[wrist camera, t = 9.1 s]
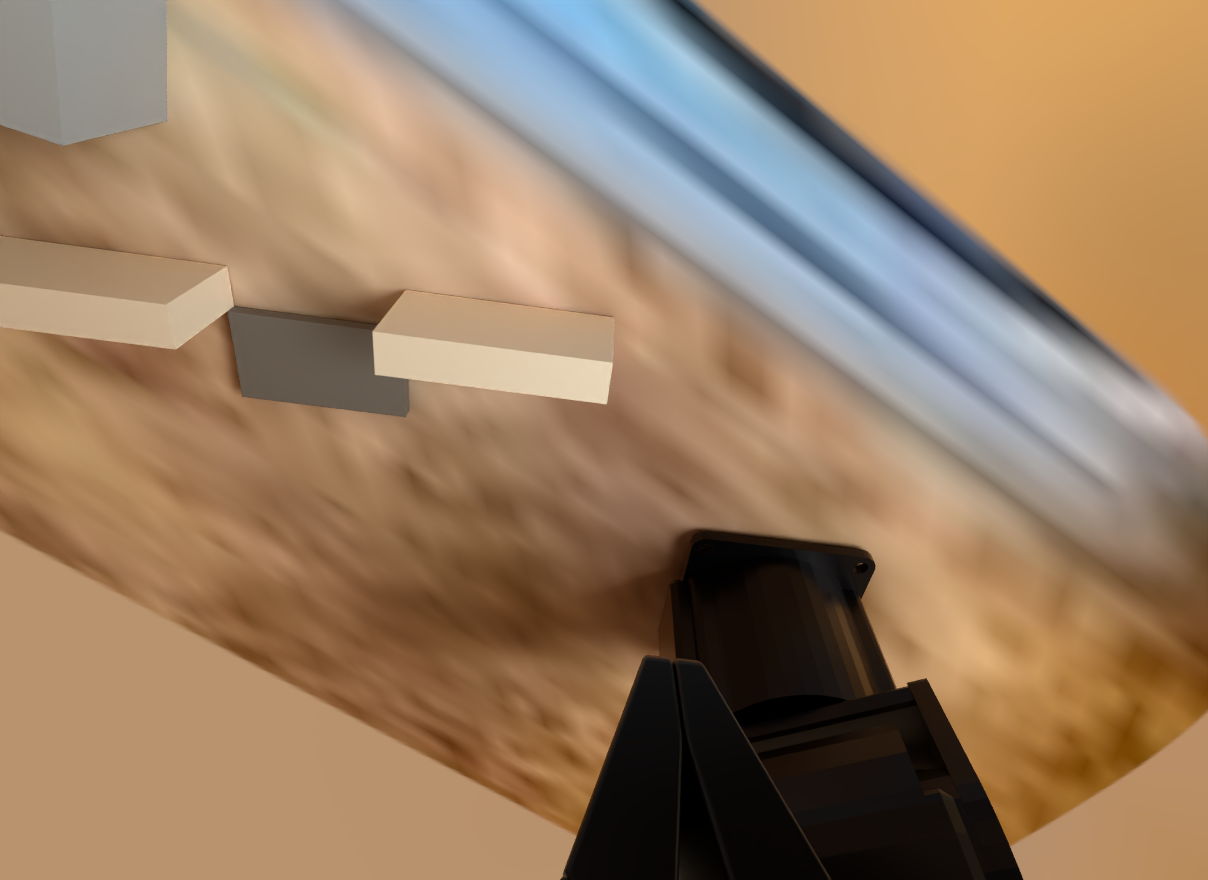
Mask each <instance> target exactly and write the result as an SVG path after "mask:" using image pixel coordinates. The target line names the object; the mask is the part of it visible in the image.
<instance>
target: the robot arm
mask: <svg viewBox="0 0 1208 880" xmlns="http://www.w3.org/2000/svg"><path fill="white" fill-rule="evenodd" d="M705 544H708V545H710V546H709V547H707V548H702V547H700V546H702V545H705ZM858 563H863V564H861V565H859V566H855V565H856V564H858ZM874 570H875V563H874V561H873V558H872V556H871V554H870V553H869V552H867V551H865V550H860V549H851V548H843V547H834V546H826V545H818V544H809V543H801V542H792V541H784V540H775V539H767V538H759V537H750V536H742V535H733V534H725V533H717V532H708V531H705V532H699V533H696V534H695V535H694V536H693V537H692V538H691V540H690V544H689V548H688V552H687V555H686V559H685V563H684V567H683V571H682V575H681V579H680V580H675V581H674V582H672V583H671V584H670V585H669V589H668V593H667V597H666V601H665V605H664V609H663V613H662V617H661V621H660V625H659V630H658V633H659V652H660V656H652V655H646V656H644V657H643V659H642V662H641V664H640V667H639V670H638V672H637V675H636V678H635V680H634V683H633V686H632V688H631V691H630V694H629V697H628V699H627V702H626V705H625V707H624V710H623V713H622V715H621V718H620V721H619V723H618V726H617V729H616V732H615V734H614V737H613V740H612V742H611V745H610V748H609V750H608V753H607V756H606V759H605V761H604V764H603V767H602V769H601V772H600V775H599V777H598V780H597V783H596V785H595V788H594V791H593V794H592V796H591V799H590V802H589V804H588V807H587V810H586V812H585V815H584V818H583V821H582V823H581V826H580V829H579V831H578V834H577V837H576V839H575V842H574V845H573V847H572V850H571V853H570V856H569V858H568V861H567V864H566V866H565V869H564V872H563V877H562V878H561V879H560V880H1023V878H1022V875H1021V872H1020V870H1019V868H1018V865H1017V863H1016V860H1015V858H1014V855H1013V853H1012V851H1011V848H1010V846H1009V843H1008V841H1007V839H1006V836H1005V834H1004V832H1003V830H1002V827H1001V825H1000V823H999V820H998V818H997V816H996V814H995V812H994V809H993V807H992V805H991V803H990V801H989V799H988V797H987V795H986V793H985V791H984V788H983V786H982V784H981V782H980V780H979V779H978V777H977V775H976V773H975V771H974V769H973V767H972V765H971V763H970V761H969V759H968V757H967V755H966V753H965V752H964V750H963V748H962V746H961V744H960V742H959V740H958V738H957V736H956V734H955V732H954V730H953V728H952V726H951V725H950V723H949V721H948V719H947V717H946V715H945V713H944V711H943V709H942V707H941V705H940V703H939V701H938V699H937V698H936V696H935V694H934V692H933V690H932V688H931V686H930V684H929V682H928V680H927V678H926V679H921V680H917V681H913V682H909V683H907V685H908V686H907V687H903V688H898V689H897V688H896V685H895V683H894V680H893V678H892V675H891V673H890V670H889V668H888V665H887V663H886V661H885V658H884V656H883V653H882V651H881V648H880V646H879V643H878V641H877V638H876V636H875V633H874V631H873V628H872V626H871V623H870V621H869V618H868V616H867V613H866V611H865V608H864V606H863V603H862V601H861V598H862V596H863V594H864V592H865V590H866V588H867V585H868V583H869V581H870V579H871V577H872V575H873V573H874Z"/></svg>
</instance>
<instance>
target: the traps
mask: <svg viewBox="0 0 1208 880" xmlns="http://www.w3.org/2000/svg"><path fill="white" fill-rule="evenodd" d="M227 313H228V319H229V324H230V330H231V335H232V341H233V347H234V352H235V358H236V363H237V369H238V375H239V380H240V386H241V392H242V397H248V398H257V399H265V400H273V401H281V402H289V403H297V404H305V405H313V406H321V407H329V408H337V409H345V410H353V411H361V412H369V413H377V414H385V415H393V416H401V417H406V416H407V414H408V412H409V386H408V379H405V378H397V377H389V376H381V375H375V368H374V350H373V333H372V331H373V330H374V329H375V328H376V326H377V325H374V324H367V323H359V322H351V321H344V320H336V319H328V318H321V317H313V316H305V315H298V314H290V313H282V312H275V311H267V310H259V309H251V308H244V307H236V306H234V307H232V308H231V309H230V310H228V311H227Z"/></svg>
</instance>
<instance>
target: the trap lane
mask: <svg viewBox="0 0 1208 880" xmlns="http://www.w3.org/2000/svg"><path fill="white" fill-rule="evenodd" d="M232 307H234V303H233V297H232V291H231V285H230V280H229V274H228V268H227V266H223V265H216V264H208V263H201V262H193V261H186V260H178V259H171V258H163V257H155V256H148V255H140V254H133V253H125V252H118V251H110V250H103V249H95V248H88V247H80V246H73V245H65V244H58V243H50V242H43V241H35V240H28V239H20V238H12V237H5V236H0V327H3V328H10V329H18V330H26V331H34V332H42V333H50V334H58V335H66V336H74V337H81V338H89V339H97V340H105V341H113V342H121V343H129V344H137V345H145V346H152V347H160V348H168V349H177V348H179V347H180V346H181V345H183V344H184V343H185V342H187V341H188V340H189V339H191V338H192V337H193V336H195V335H196V334H197V333H199V332H200V331H202V330H203V329H204V328H206V327H207V326H208V325H210V324H211V323H212V322H214V321H215V320H216V319H218V318H219V317H220V316H222V315H223V314H224V313H226V312H227V311H228V310H230V309H231V308H232ZM614 320H615V317H607V316H600V315H592V314H585V313H577V312H570V311H562V310H554V309H547V308H539V307H532V306H524V305H517V304H509V303H502V302H494V301H487V300H479V299H472V298H464V297H457V296H449V295H442V294H434V293H426V292H419V291H411V290H405V291H404V293H403V294H402V295H401V296H400V298H399V299H398V300H397V301H396V303H395V304H394V305H393V306H392V308H391V309H390V310H389V311H388V313H387V314H386V315H385V316H384V318H383V319H382V320H381V321H380V323H379V324H378V325H377V326H376V328H375V329H374V330H373V331H372V333H373V350H374V368H375V375H381V376H389V377H397V378H405V379H413V380H420V381H428V382H436V383H444V384H452V385H460V386H468V387H476V388H484V389H491V390H499V391H507V392H515V393H523V394H531V395H539V396H547V397H555V398H562V399H570V400H578V401H586V402H594V403H602V404H607V399H608V392H609V386H610V379H611V372H612V366H613V347H614Z"/></svg>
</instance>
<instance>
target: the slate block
mask: <svg viewBox="0 0 1208 880" xmlns="http://www.w3.org/2000/svg"><path fill="white" fill-rule="evenodd" d="M165 121H167V0H0V125H2V126H5V127H8V128H11V129H14V130H17V131H20V132H23V133H26V134H29V135H32V136H35V137H38V138H41V139H44V140H47V141H50V142H53V143H56V144H59V145H62V146H64V145H68V144H72V143H77V142H81V141H85V140H89V139H94V138H98V137H102V136H106V135H110V134H115V133H119V132H123V131H127V130H131V129H136V128H140V127H144V126H148V125H152V124H157V123H161V122H165Z"/></svg>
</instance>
